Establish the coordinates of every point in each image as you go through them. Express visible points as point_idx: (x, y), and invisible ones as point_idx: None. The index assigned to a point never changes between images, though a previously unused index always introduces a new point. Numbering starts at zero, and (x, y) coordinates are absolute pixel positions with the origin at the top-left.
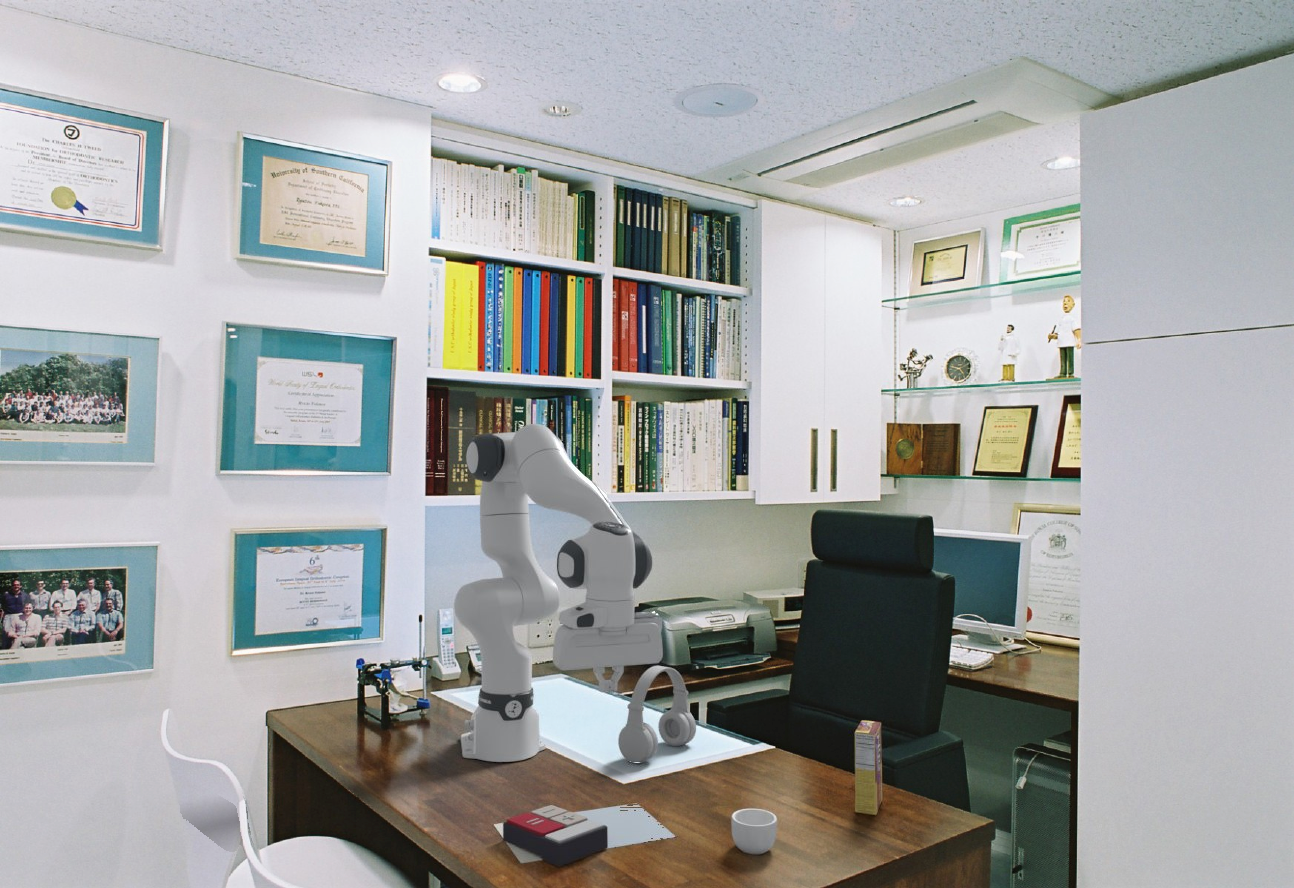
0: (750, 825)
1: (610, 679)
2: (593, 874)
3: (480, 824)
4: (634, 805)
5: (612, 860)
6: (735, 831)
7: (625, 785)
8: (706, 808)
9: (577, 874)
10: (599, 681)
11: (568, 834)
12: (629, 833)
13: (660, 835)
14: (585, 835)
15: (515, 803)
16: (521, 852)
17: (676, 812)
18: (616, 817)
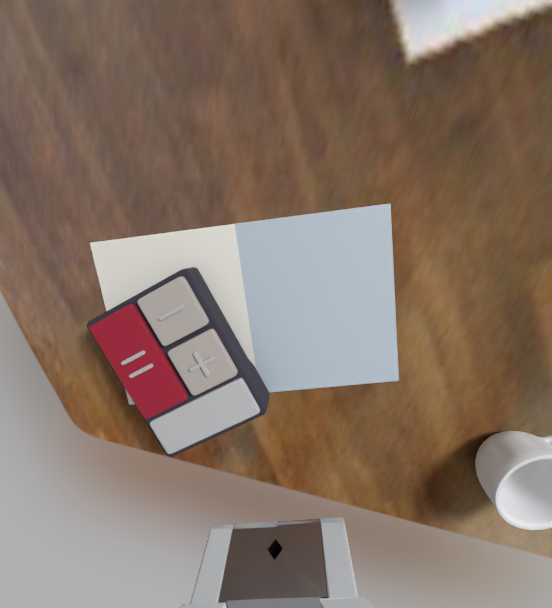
0: (510, 523)
1: (320, 595)
2: (227, 464)
3: (66, 235)
4: (381, 215)
5: (266, 431)
6: (484, 484)
7: (407, 75)
8: (521, 268)
9: (205, 458)
10: (195, 606)
11: (188, 434)
12: (323, 346)
13: (374, 368)
14: (219, 434)
15: (137, 137)
16: None
17: (450, 273)
18: (324, 269)
